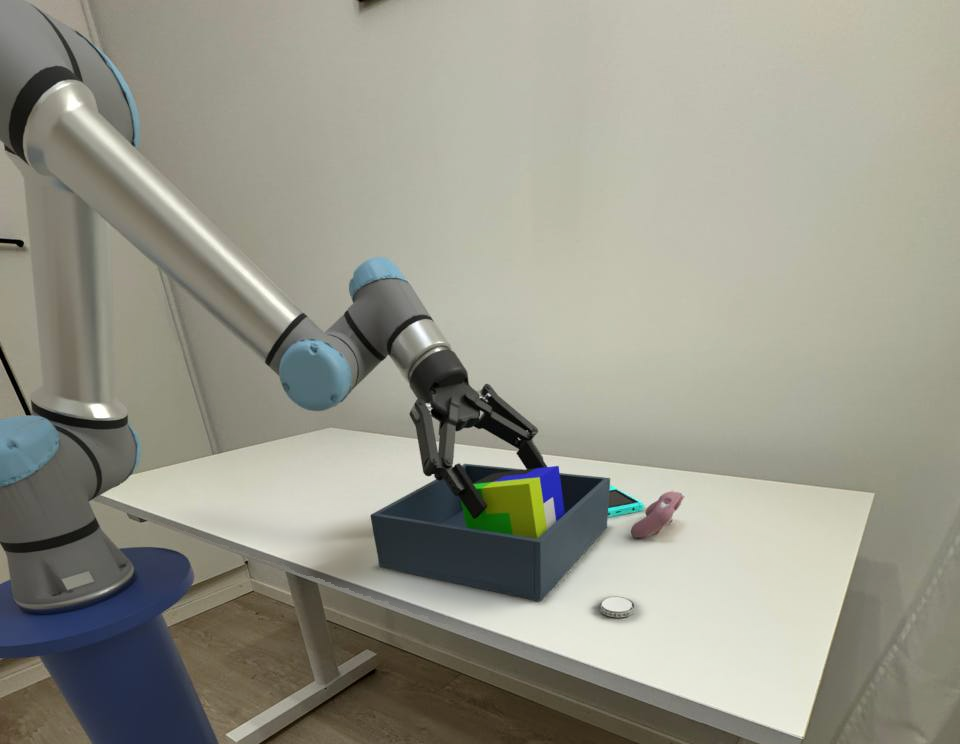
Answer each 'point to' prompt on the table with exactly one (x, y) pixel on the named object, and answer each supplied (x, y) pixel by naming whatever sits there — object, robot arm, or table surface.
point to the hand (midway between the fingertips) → (516, 498)
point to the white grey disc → (616, 607)
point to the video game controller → (658, 515)
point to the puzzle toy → (519, 502)
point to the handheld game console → (622, 503)
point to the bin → (488, 538)
